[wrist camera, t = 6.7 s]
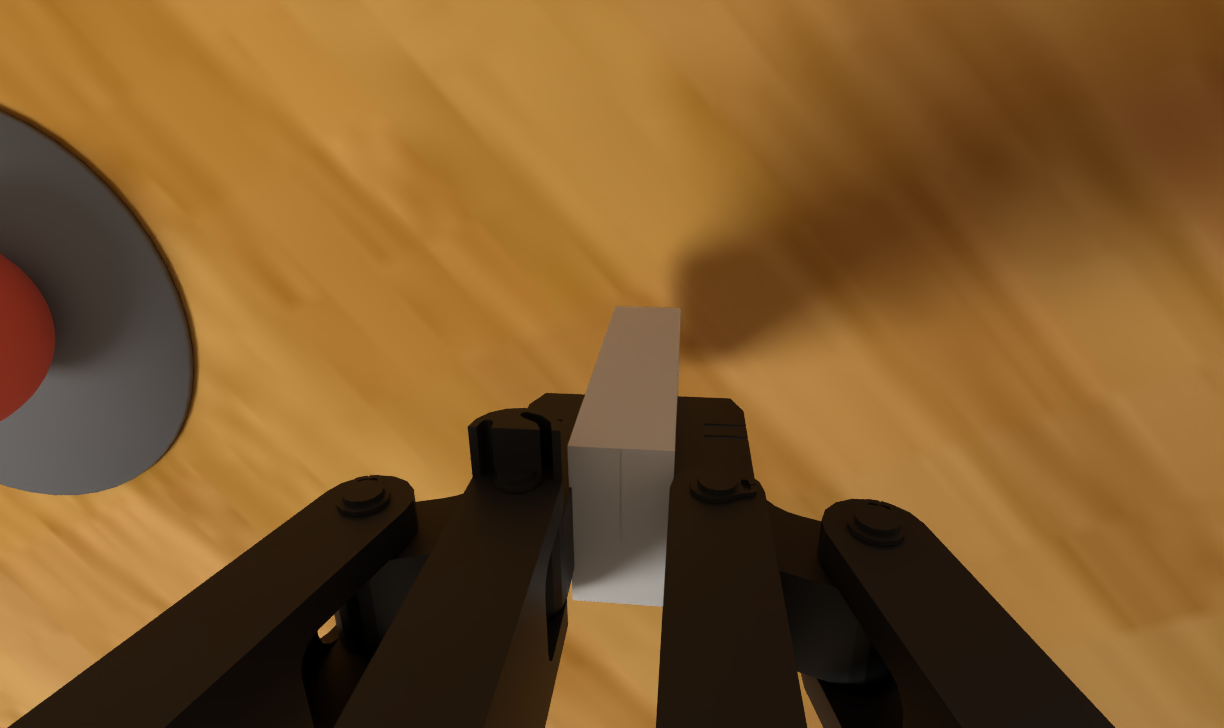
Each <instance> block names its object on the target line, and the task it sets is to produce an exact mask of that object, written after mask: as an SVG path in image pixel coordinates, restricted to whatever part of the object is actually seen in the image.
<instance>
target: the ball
mask: <svg viewBox="0 0 1224 728" xmlns="http://www.w3.org/2000/svg"><path fill="white" fill-rule="evenodd" d="M54 350H55V328H54V322H53V318H52V315H51V312H50V309H49V307H48V304H47V302H46V301H45V299H44V297H43V295H42V294H41V292H40V291H39V289H38V288H37V286H36V285H35V284H34V282H33V281H32V280H31V279H30V278H29V277H28V276H27V275H26V274H25V273H24V272H23V271H22V270H21V269H20V268H19V267H18V266H16V265H15V264H14V263H12V262H11V261H10V260H8V259H7V258H6V257H4V256H3V255H2V254H0V421H2V420H4V419H5V418H7V417H8V416H10V415H11V414H13V413H14V412H15V411H17V410H18V409H19V408H20V407H22V406H23V405H24V404H25V403H26V402H27V401H28V400H29V399H30V398H31V397H32V396H33V394H34V393H35V392H36V391H37V389H38V388H39V386H40V385H41V383H42V382H43V380H44V379H45V377H46V375H47V373H48V370H49V368H50V365H51V362H52V359H53V356H54Z"/></svg>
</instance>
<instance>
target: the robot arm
mask: <svg viewBox="0 0 1224 728" xmlns="http://www.w3.org/2000/svg"><path fill="white" fill-rule="evenodd" d="M680 319H681V308H663V307H626V306H615V309H614V312H613V315H612V318H611V321H610V324H609V327H608V330H607V333H606V335H605V338H604V341H603V344H602V347H601V350H600V353H599V356H598V359H597V362H596V364H595V367H594V370H593V373H592V376H591V379H590V382H589V385H588V388H587V391H586V393H585V395H582V394H557V393H546V394H544V395H543V396H541V397H540V398H538V399H537V400H535V401H534V402H532V403H531V404H530V405H529V407H528V408H513V409H504V410H499V411H495V412H490V413H488V414H486V415H483V416H481V417H479V418H477V419H476V420H474V421H473V422H472V423H471V424H470V425H469V426H468V434H469V444H470V455H471V465H472V475H473V477H472V479H471V481H470V483H469V485H468V486H467V488H466V490H465V492H464V493H463V494H461V495H457V496H452V497H447V498H442V499H434V500H427V501H420V502H415V495H414V489H413V488H412V487H411V486H410V484H409V483H408V482H407V481H405V480H402V479H399V478H397V477H394V476H381V475H370V476H363V477H358V478H356V479H354V480H350V481H347V482H344V483H341V484H339V485H338V486H336V487H334V488H332V489H330V490H329V491H327V492H325V493H324V494H323V495H321V496H320V497H319V498H317V499H316V500H315V501H313V502H312V503H310V504H309V505H308V506H306V507H305V508H304V509H302V510H301V511H300V512H298V513H297V514H296V515H294V516H293V517H292V518H290V519H289V520H287V521H286V522H285V523H283V524H282V525H281V526H279V527H278V528H277V529H275V530H274V531H273V532H271V533H270V534H269V535H267V536H266V537H265V538H263V539H262V540H260V541H259V542H258V543H256V544H255V545H254V546H252V547H251V548H250V549H248V550H247V551H246V552H244V553H243V554H242V555H240V556H239V557H237V558H236V559H235V560H233V561H232V562H231V563H229V564H228V565H227V566H225V567H224V568H223V569H221V570H220V571H219V572H217V573H216V574H215V575H213V576H212V577H210V578H209V579H208V580H206V581H205V582H204V583H202V584H201V585H200V586H198V587H197V588H196V589H194V590H193V591H192V592H190V593H189V594H187V595H186V596H185V597H183V598H182V599H181V600H179V601H178V602H177V603H175V604H174V605H173V606H171V607H170V608H169V609H167V610H166V611H164V612H163V613H162V614H160V615H159V616H158V617H156V618H155V619H154V620H152V621H151V622H150V623H148V624H147V625H146V626H144V627H143V628H142V629H140V630H139V631H137V632H136V633H135V634H133V635H132V636H131V637H129V638H128V639H127V640H125V641H124V642H123V643H121V644H120V645H119V646H117V647H116V648H114V649H113V650H112V651H110V652H109V653H108V654H106V655H105V656H104V657H102V658H101V659H100V660H98V661H97V662H96V663H94V664H93V665H92V666H90V667H89V668H87V669H86V670H85V671H83V672H82V673H81V674H79V675H78V676H77V677H75V678H74V679H73V680H71V681H70V682H69V683H67V684H66V685H64V686H63V687H62V688H60V689H59V690H58V691H56V692H55V693H54V694H52V695H51V696H50V697H48V698H47V699H46V700H44V701H43V702H41V703H40V704H39V705H37V706H36V707H35V708H33V709H32V710H31V711H29V712H28V713H27V714H25V715H24V716H23V717H21V718H20V719H19V720H17V721H16V722H14V723H13V724H12V725H10V726H9V727H8V728H545V725H546V720H547V716H548V711H549V707H550V703H551V698H552V694H553V689H554V685H555V680H556V676H557V671H558V667H559V663H560V658H561V654H562V649H563V645H564V640H565V636H566V631H567V627H568V614H567V596H568V592H569V588H570V583H571V579H572V592H573V600H579V601H593V602H607V603H621V604H635V605H649V606H662V607H663V614H662V631H661V649H660V666H659V684H658V701H657V719H656V728H807V724H806V718H805V712H804V707H803V701H802V696H801V690H800V685H799V679H798V673H797V672H800V673H801V676H802V680H803V684H804V688H805V690H806V692H807V694H808V696H809V698H810V701H811V703H812V705H813V707H814V709H815V711H816V713H817V715H818V717H819V719H820V721H821V724H822V726H823V728H1115V727H1114V726H1113V725H1112V724H1111V723H1110V722H1109V721H1108V719H1107V718H1106V717H1105V716H1104V715H1103V714H1102V713H1101V712H1100V711H1099V710H1098V709H1097V708H1096V707H1095V706H1094V704H1093V703H1092V702H1091V701H1090V700H1089V699H1088V698H1087V697H1086V696H1085V695H1084V694H1083V693H1082V692H1081V691H1080V690H1079V688H1078V687H1077V686H1076V685H1075V684H1074V683H1073V682H1072V681H1071V680H1070V679H1069V678H1068V677H1067V676H1066V675H1065V674H1064V672H1063V671H1062V670H1061V669H1060V668H1059V667H1058V666H1057V665H1056V664H1055V663H1054V662H1053V661H1052V660H1051V659H1050V657H1049V656H1048V655H1047V654H1046V653H1045V652H1044V651H1043V650H1042V649H1041V648H1040V647H1039V646H1038V645H1037V644H1036V643H1035V641H1034V640H1033V639H1032V638H1031V637H1030V636H1029V635H1028V634H1027V633H1026V632H1025V631H1024V630H1023V629H1022V628H1021V627H1020V625H1019V624H1018V623H1017V622H1016V621H1015V620H1014V619H1013V618H1012V617H1011V616H1010V615H1009V614H1008V613H1007V612H1006V611H1005V609H1004V608H1003V607H1002V606H1001V605H1000V604H999V603H998V602H997V601H996V600H995V599H994V598H993V597H992V596H991V594H990V593H989V592H988V591H987V590H986V589H985V588H984V587H983V586H982V585H981V584H980V583H979V582H978V581H977V580H976V578H975V577H974V576H973V575H972V574H971V573H970V572H969V571H968V570H967V569H966V568H965V567H964V566H963V565H962V564H961V562H960V561H959V560H958V559H957V558H956V557H955V556H954V555H953V554H952V553H951V552H950V551H949V550H948V549H947V547H946V546H945V545H944V544H943V543H942V542H941V541H940V540H939V539H938V538H937V537H936V536H935V535H934V534H933V533H932V531H931V530H930V529H929V528H928V527H927V526H926V525H925V524H924V523H923V522H921V521H920V520H919V519H918V518H916V517H915V516H914V515H912V514H911V513H910V512H907V511H905V510H903V509H901V508H899V507H896V506H894V505H892V504H889V503H886V502H882V501H881V502H879V501H878V500H871V499H849V500H845V501H840V502H836V503H834V504H833V505H831V506H830V507H829V508H827V509H826V510H825V512H824V515H823V518H822V521H818V520H814V519H810V518H806V517H802V516H798V515H795V514H792V513H789V512H786V511H784V510H782V509H780V508H778V507H776V506H774V505H773V504H772V503H770V502H769V501H767V500H766V495H765V491H764V489H763V488H762V486H761V484H760V482H759V481H757V480H756V479H755V478H754V473H753V467H752V461H751V454H750V448H749V442H748V436H747V430H746V424H745V418H744V412H743V410H742V409H741V408H740V407H739V406H737V405H736V404H735V403H734V402H733V401H732V400H731V399H729V398H704V397H679V396H678V377H679V348H680ZM333 615H334V616H335V620H336V626H335V627H334V628H333V629H332V630H331V631H330V632H329V633H328V634H326V635H325V636H323V637H322V638H319V636H318V632H317V631H318V630H319V628H320V627H322V626H323V625H324V624H325V623H326V622H327V621H328V620H329V619H330V618H331V617H332V616H333Z"/></svg>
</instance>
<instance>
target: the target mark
mask: <svg viewBox="0 0 1224 728" xmlns="http://www.w3.org/2000/svg"><path fill="white" fill-rule="evenodd" d="M0 254H2V255H3V256H4V257H6V258H7V259H8V260H10V261H11V262H12V263H14V264H15V265H16V266H18V267H19V268H20V269H21V270H22V271H23V272H24V273H25V274H26V275H27V276H28V277H29V278H30V279H31V280H32V281H33V282H34V284H35V285H36V286H37V288H38V289H39V291H40V292H41V294H42V295H43V297H44V299H45V301H46V302H47V304H48V307H49V309H50V312H51V315H52V318H53V322H54V328H55V350H54V356H53V359H52V362H51V365H50V368H49V370H48V373H47V375H46V377H45V379H44V380H43V382H42V383H41V385H40V386H39V388H38V389H37V391H36V392H35V393H34V394H33V396H32V397H31V398H30V399H29V400H28V401H27V402H26V403H25V404H24V405H23V406H22V407H20V408H19V409H18V410H17V411H15V412H14V413H13V414H11V415H10V416H8V417H7V418H5V419H4V420H2V421H0V484H2V485H4V486H7V487H11V488H16V489H20V490H24V491H29V492H34V493H42V494H50V495H80V494H88V493H95V492H100V491H103V490H107V489H110V488H114V487H117V486H119V485H121V484H123V483H125V482H127V481H129V480H132V479H134V478H135V477H137V476H138V475H140V474H141V473H142V472H144V471H145V470H147V469H148V468H149V467H151V466H152V465H154V464H155V463H156V462H157V461H158V460H159V459H160V458H161V457H162V456H163V455H164V454H165V453H166V452H167V451H168V449H169V448H170V446H171V445H172V443H173V442H174V440H175V439H176V437H177V436H178V434H179V432H180V430H181V427H182V425H183V423H184V420H185V418H186V416H187V412H188V408H189V404H190V400H191V396H192V386H193V373H194V369H193V353H192V343H191V338H190V333H189V328H188V323H187V319H186V316H185V313H184V310H183V306H182V303H181V300H180V297H179V294H178V292H177V289H176V287H175V285H174V283H173V280H172V278H171V276H170V274H169V272H168V269H167V267H166V265H165V263H164V262H163V260H162V258H161V256H160V255H159V253H158V251H157V250H156V248H155V246H154V244H153V243H152V241H151V239H150V238H149V236H148V235H147V234H146V232H145V231H144V229H143V228H142V227H141V225H140V224H139V222H138V221H137V220H136V218H135V217H134V215H133V214H132V213H131V211H130V210H129V209H128V208H127V207H126V206H125V204H124V203H123V202H122V201H121V200H120V199H119V198H118V197H117V195H116V194H115V193H114V192H113V191H112V190H111V189H110V187H109V186H108V185H107V184H106V183H105V182H103V181H102V180H101V179H100V178H99V177H98V176H97V175H96V174H95V173H94V172H93V171H92V170H91V169H90V168H89V167H88V166H87V165H85V164H84V163H83V162H82V161H81V160H79V159H78V158H77V157H76V156H74V155H73V154H72V153H70V152H69V151H68V150H67V149H65V148H64V147H63V146H61V145H60V144H59V143H58V142H56V141H55V140H53V139H51V138H50V137H48V136H47V135H45V134H43V133H42V132H40V131H39V130H37V129H35V128H34V127H32V126H31V125H29V124H27V123H25V122H23V121H21V120H19V119H17V118H15V117H13V116H11V115H9V114H7V113H5V112H3V111H1V110H0Z"/></svg>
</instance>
